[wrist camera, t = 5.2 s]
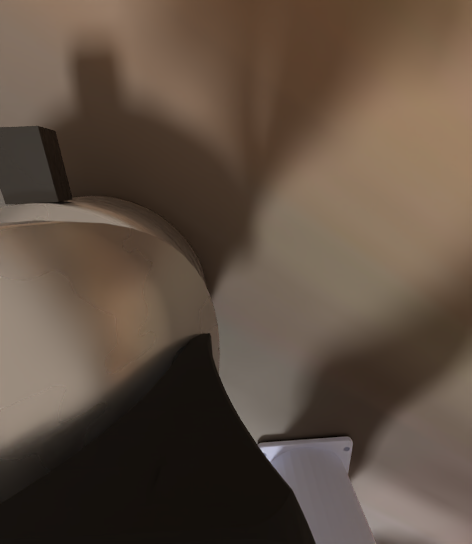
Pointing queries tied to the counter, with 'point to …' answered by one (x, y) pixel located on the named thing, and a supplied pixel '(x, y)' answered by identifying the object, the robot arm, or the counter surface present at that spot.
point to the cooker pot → (66, 191)
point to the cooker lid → (85, 334)
